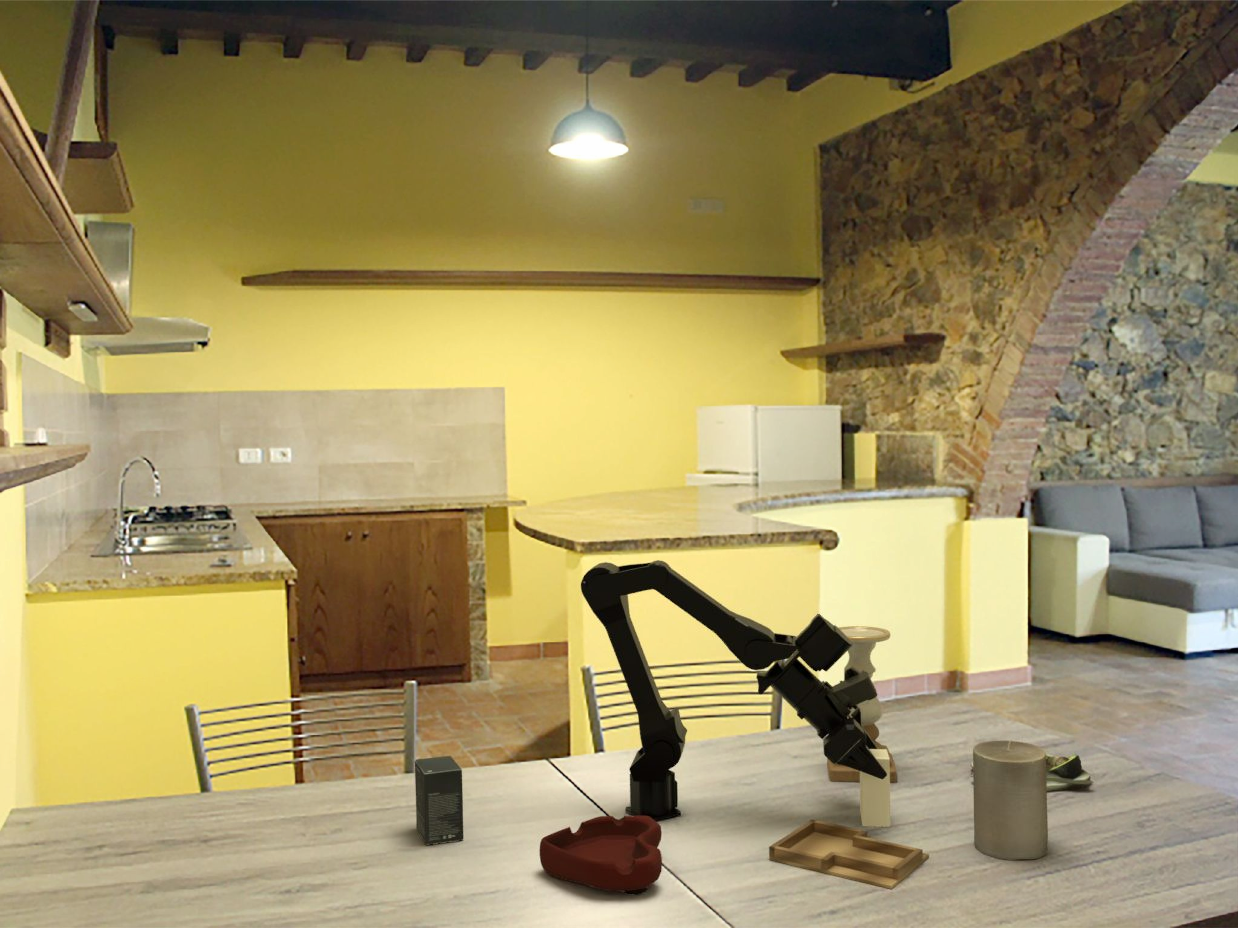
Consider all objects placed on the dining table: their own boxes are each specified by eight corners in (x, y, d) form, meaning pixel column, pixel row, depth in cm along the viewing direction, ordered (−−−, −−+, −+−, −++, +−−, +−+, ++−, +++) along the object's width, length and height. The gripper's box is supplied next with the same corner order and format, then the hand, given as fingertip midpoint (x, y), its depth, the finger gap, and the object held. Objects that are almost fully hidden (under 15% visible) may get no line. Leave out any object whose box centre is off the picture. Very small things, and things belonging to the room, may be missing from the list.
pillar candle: (994, 829, 166) (992, 726, 165) (1060, 846, 159) (1058, 739, 158) (960, 849, 159) (958, 742, 158) (1028, 867, 152) (1026, 755, 151)
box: (464, 840, 166) (462, 768, 165) (425, 846, 164) (423, 773, 164) (453, 823, 173) (451, 753, 173) (415, 828, 171) (413, 758, 171)
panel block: (862, 825, 168) (861, 758, 168) (860, 814, 173) (859, 748, 173) (890, 826, 168) (889, 759, 167) (887, 814, 173) (886, 749, 172)
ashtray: (546, 849, 162) (545, 814, 162) (661, 848, 162) (661, 813, 162) (533, 902, 145) (532, 863, 144) (662, 901, 144) (661, 862, 144)
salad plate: (994, 801, 178) (994, 772, 178) (944, 767, 196) (944, 741, 196) (1109, 793, 181) (1109, 764, 181) (1049, 760, 199) (1049, 733, 199)
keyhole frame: (769, 859, 156) (769, 846, 156) (811, 831, 166) (811, 819, 166) (891, 888, 146) (891, 874, 146) (929, 857, 156) (928, 843, 156)
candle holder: (826, 761, 200) (824, 625, 199) (891, 762, 198) (889, 625, 197) (829, 781, 189) (827, 637, 188) (897, 782, 187) (896, 637, 186)
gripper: (846, 668, 161) (928, 747, 160) (840, 642, 179) (914, 713, 178) (790, 723, 162) (872, 802, 161) (790, 692, 181) (863, 762, 180)
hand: (882, 766), depth 170 cm, fingers open, 9 cm apart
